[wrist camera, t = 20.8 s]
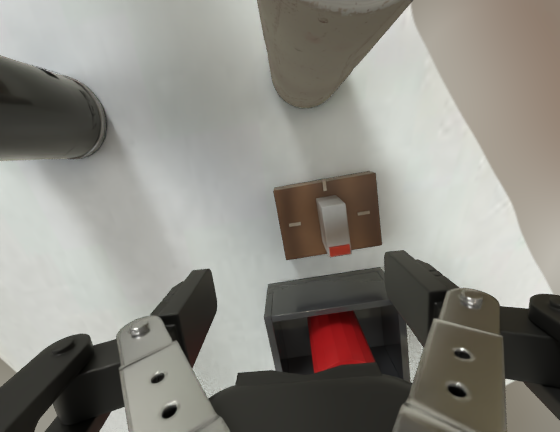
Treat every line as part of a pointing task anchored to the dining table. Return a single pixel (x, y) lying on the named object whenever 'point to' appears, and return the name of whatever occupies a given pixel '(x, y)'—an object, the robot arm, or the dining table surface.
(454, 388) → the robot arm
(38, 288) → the dining table surface
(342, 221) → the grey switch handle
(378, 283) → the dark grey storage bin
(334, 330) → the bottle
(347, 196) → the brown switch base plate
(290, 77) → the thermos bottle
